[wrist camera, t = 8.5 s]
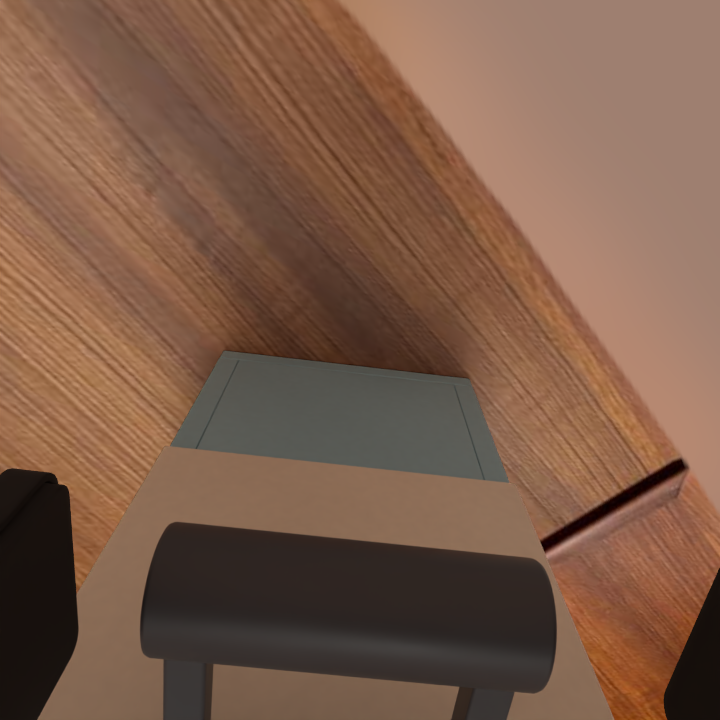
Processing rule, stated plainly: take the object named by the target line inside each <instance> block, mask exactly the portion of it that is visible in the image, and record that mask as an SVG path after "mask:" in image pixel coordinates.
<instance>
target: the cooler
mask: <svg viewBox="0 0 720 720" xmlns="http://www.w3.org/2000/svg"><path fill="white" fill-rule="evenodd" d="M170 446H172V447H181V448H190V449H200V450H209V451H218V452H227V453H237V454H246V455H255V456H265V457H274V458H283V459H292V460H302V461H311V462H320V463H329V464H339V465H348V466H357V467H366V468H376V469H385V470H394V471H403V472H413V473H422V474H431V475H440V476H450V477H459V478H468V479H478V480H487V481H496V482H505V483H509V480H508V478H507V475H506V472H505V470H504V467H503V465H502V462H501V459H500V457H499V454H498V452H497V449H496V446H495V444H494V441H493V439H492V436H491V433H490V431H489V428H488V426H487V423H486V420H485V418H484V415H483V413H482V410H481V407H480V405H479V402H478V400H477V397H476V394H475V392H474V389H473V387H472V385H471V382H470V379H467V378H458V377H449V376H441V375H432V374H423V373H414V372H406V371H397V370H388V369H380V368H371V367H362V366H354V365H345V364H336V363H328V362H319V361H310V360H302V359H293V358H284V357H276V356H267V355H258V354H249V353H241V352H232V351H223V353H222V354H221V356H220V358H219V360H218V361H217V363H216V365H215V367H214V368H213V370H212V372H211V374H210V376H209V377H208V379H207V381H206V383H205V385H204V386H203V388H202V390H201V392H200V393H199V395H198V397H197V399H196V401H195V402H194V404H193V406H192V408H191V409H190V411H189V413H188V415H187V417H186V418H185V420H184V422H183V424H182V426H181V427H180V429H179V431H178V433H177V434H176V436H175V438H174V440H173V442H172V443H171V445H170Z"/></svg>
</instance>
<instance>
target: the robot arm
mask: <svg viewBox="0 0 720 720" xmlns="http://www.w3.org/2000/svg"><path fill="white" fill-rule="evenodd" d="M78 632H79V626H78V611H77V597H76V583H75V568H74V554H73V540H72V525H71V511H70V497H69V490H68V488H67V486H65V485H59V484H58V481H57V478H56V476H55V475H54V474H52V473H48V472H39V471H30V470H22V469H13V468H12V469H7V470H6V471H4V472H3V473H2V474H1V475H0V720H37V719H38V717H39V716H40V714H41V712H42V710H43V708H44V706H45V705H46V703H47V701H48V699H49V697H50V695H51V694H52V692H53V690H54V688H55V686H56V684H57V683H58V681H59V679H60V677H61V675H62V673H63V672H64V670H65V668H66V666H67V664H68V663H69V661H70V659H71V657H72V655H73V652H74V650H75V647H76V643H77V639H78ZM664 709H665V714H666V717H667V720H720V568H719V570H718V573H717V575H716V577H715V579H714V582H713V584H712V586H711V588H710V591H709V593H708V595H707V598H706V600H705V602H704V604H703V607H702V609H701V611H700V613H699V616H698V618H697V620H696V622H695V625H694V627H693V629H692V632H691V634H690V636H689V638H688V641H687V643H686V645H685V647H684V650H683V652H682V654H681V656H680V659H679V661H678V663H677V666H676V668H675V670H674V672H673V675H672V677H671V679H670V681H669V684H668V686H667V688H666V691H665V694H664Z"/></svg>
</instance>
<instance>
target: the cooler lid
mask: <svg viewBox="0 0 720 720" xmlns="http://www.w3.org/2000/svg"><path fill="white" fill-rule="evenodd" d="M76 597H77V611H78V626H79V632H78V639H77V643H76V647H75V650H74V652H73V655H72V657H71V659H70V661H69V663H68V664H67V666H66V668H65V670H64V672H63V673H62V675H61V677H60V679H59V681H58V683H57V684H56V686H55V688H54V690H53V692H52V694H51V695H50V697H49V699H48V701H47V703H46V705H45V706H44V708H43V710H42V712H41V714H40V716H39V717H38V719H37V720H614V718H613V715H612V713H611V711H610V708H609V706H608V703H607V701H606V699H605V696H604V694H603V691H602V689H601V687H600V684H599V682H598V679H597V677H596V675H595V672H594V670H593V667H592V665H591V663H590V660H589V658H588V655H587V653H586V651H585V648H584V646H583V643H582V641H581V639H580V636H579V634H578V632H577V629H576V627H575V624H574V622H573V620H572V617H571V615H570V612H569V610H568V608H567V605H566V603H565V600H564V598H563V596H562V593H561V591H560V588H559V586H558V584H557V581H556V579H555V576H554V574H553V572H552V569H551V567H550V564H549V562H548V560H547V557H546V555H545V553H544V550H543V548H542V545H541V543H540V541H539V538H538V536H537V533H536V531H535V529H534V526H533V524H532V521H531V519H530V517H529V514H528V512H527V509H526V507H525V505H524V502H523V500H522V497H521V495H520V493H519V490H518V488H517V485H516V484H514V483H505V482H496V481H487V480H478V479H468V478H459V477H450V476H440V475H431V474H422V473H413V472H403V471H394V470H385V469H376V468H366V467H357V466H348V465H339V464H329V463H320V462H311V461H302V460H292V459H283V458H274V457H265V456H255V455H246V454H237V453H227V452H218V451H209V450H200V449H190V448H181V447H172V446H165V447H164V448H163V450H162V451H161V453H160V455H159V456H158V458H157V460H156V461H155V463H154V465H153V466H152V468H151V470H150V472H149V473H148V475H147V477H146V478H145V480H144V482H143V483H142V485H141V487H140V488H139V490H138V492H137V493H136V495H135V497H134V498H133V500H132V502H131V504H130V505H129V507H128V509H127V510H126V512H125V514H124V515H123V517H122V519H121V520H120V522H119V524H118V525H117V527H116V529H115V530H114V532H113V534H112V536H111V537H110V539H109V541H108V542H107V544H106V546H105V547H104V549H103V551H102V552H101V554H100V556H99V557H98V559H97V561H96V563H95V564H94V566H93V568H92V569H91V571H90V573H89V574H88V576H87V578H86V579H85V581H84V583H83V584H82V586H81V588H80V589H79V591H78V593H77V595H76Z"/></svg>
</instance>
